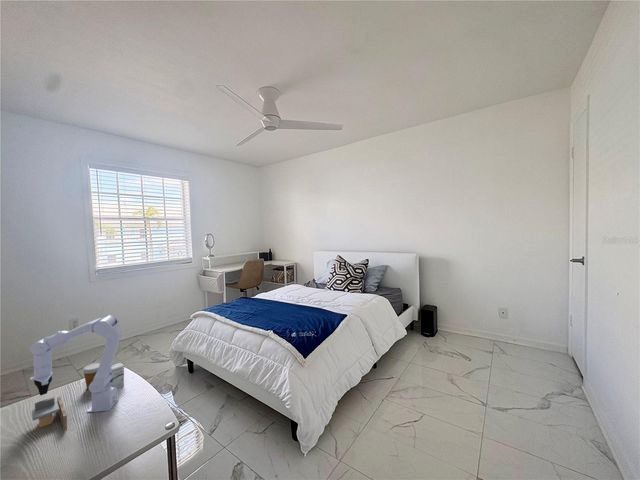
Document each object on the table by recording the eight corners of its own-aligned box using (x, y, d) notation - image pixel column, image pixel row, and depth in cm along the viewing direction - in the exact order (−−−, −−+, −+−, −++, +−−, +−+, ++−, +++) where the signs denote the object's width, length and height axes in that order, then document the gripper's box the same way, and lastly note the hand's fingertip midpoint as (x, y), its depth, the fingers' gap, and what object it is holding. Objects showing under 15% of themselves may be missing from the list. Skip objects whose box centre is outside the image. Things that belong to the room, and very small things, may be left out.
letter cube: (38, 423, 116) (38, 414, 116) (51, 418, 119) (51, 409, 119) (39, 427, 114) (39, 418, 113) (52, 422, 117) (52, 413, 117)
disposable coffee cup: (109, 384, 146) (109, 363, 145) (88, 393, 137) (88, 371, 137) (99, 380, 150) (99, 359, 149) (79, 389, 141) (78, 367, 141)
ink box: (105, 393, 138) (104, 371, 138) (102, 389, 141) (102, 368, 141) (124, 385, 145) (124, 364, 144) (121, 382, 148) (121, 361, 147)
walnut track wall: (57, 409, 125) (57, 397, 125) (60, 408, 126) (60, 396, 125) (63, 430, 112) (63, 416, 112) (66, 428, 113) (66, 415, 113)
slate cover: (31, 412, 116) (31, 403, 115) (56, 403, 122) (56, 394, 122) (32, 420, 111) (32, 411, 110) (59, 410, 117) (59, 402, 117)
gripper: (28, 363, 121) (29, 391, 122) (31, 374, 112) (31, 405, 113) (50, 357, 127) (50, 384, 127) (54, 368, 118) (55, 397, 118)
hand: (43, 394), depth 120 cm, fingers closed
